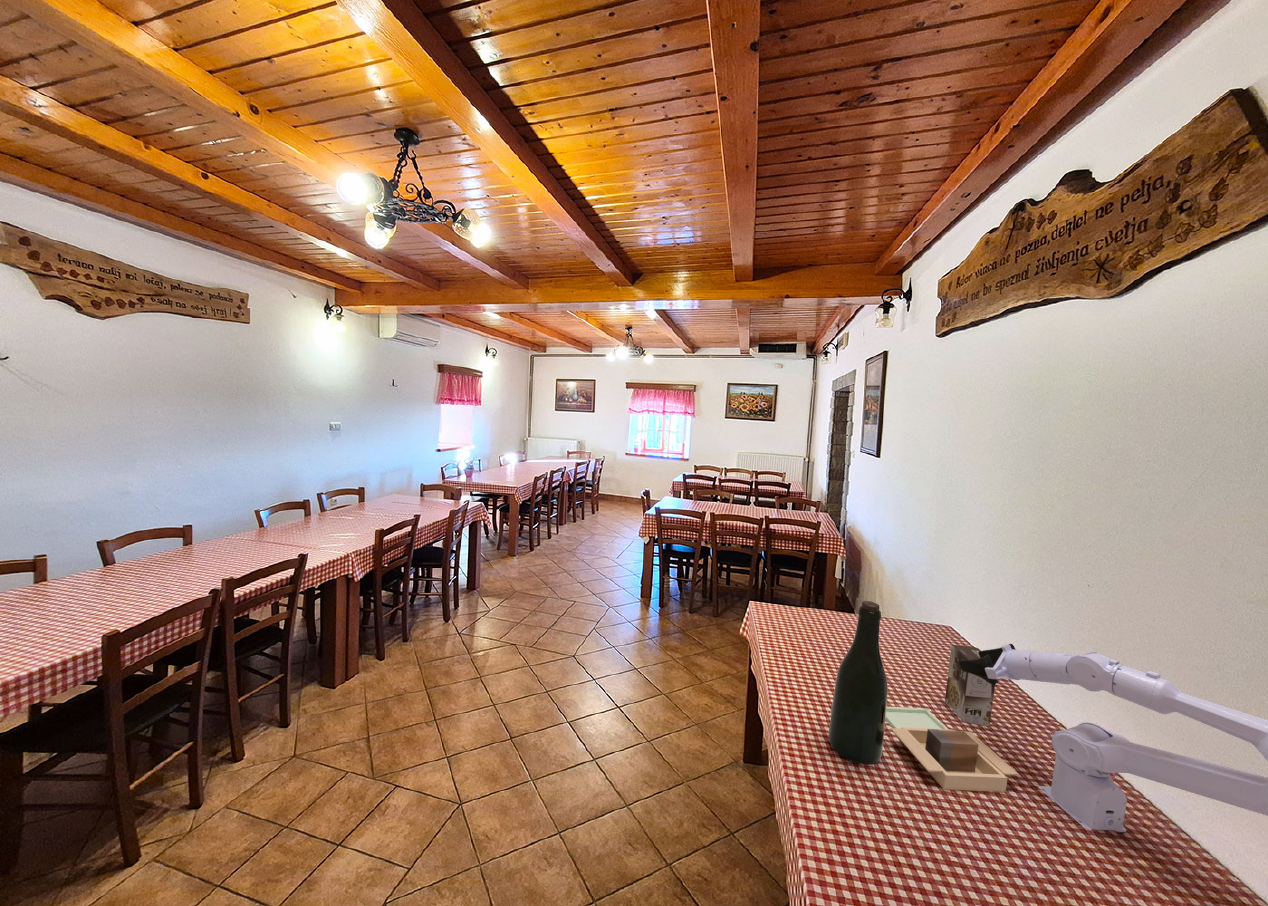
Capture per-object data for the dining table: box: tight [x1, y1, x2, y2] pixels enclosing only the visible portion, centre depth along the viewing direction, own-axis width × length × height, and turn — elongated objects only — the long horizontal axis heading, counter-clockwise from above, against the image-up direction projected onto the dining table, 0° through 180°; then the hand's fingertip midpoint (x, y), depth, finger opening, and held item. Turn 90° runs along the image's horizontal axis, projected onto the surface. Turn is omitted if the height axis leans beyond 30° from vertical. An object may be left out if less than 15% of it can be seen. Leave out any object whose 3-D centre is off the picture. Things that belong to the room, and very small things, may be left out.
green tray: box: [885, 706, 950, 730], centre depth 107 cm, size 10×13×1 cm
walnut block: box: [925, 729, 979, 772], centre depth 94 cm, size 4×8×6 cm, turn 92°
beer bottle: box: [828, 600, 889, 765], centre depth 96 cm, size 10×10×33 cm
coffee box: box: [944, 644, 996, 727], centre depth 112 cm, size 9×6×16 cm
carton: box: [890, 727, 1019, 793], centre depth 94 cm, size 14×19×4 cm
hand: (971, 660), depth 104 cm, fingers open, 7 cm apart
